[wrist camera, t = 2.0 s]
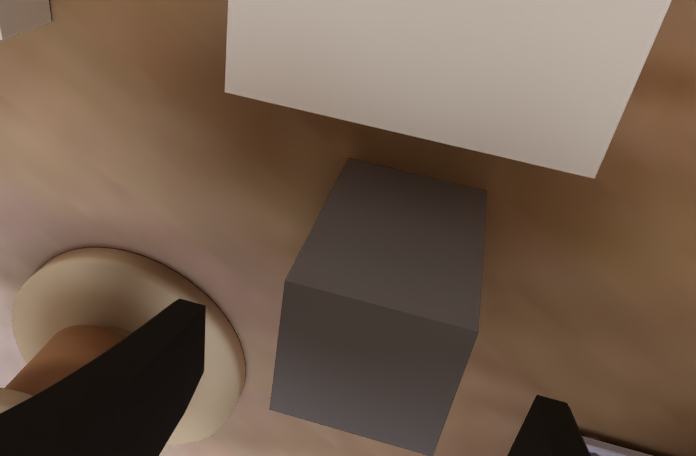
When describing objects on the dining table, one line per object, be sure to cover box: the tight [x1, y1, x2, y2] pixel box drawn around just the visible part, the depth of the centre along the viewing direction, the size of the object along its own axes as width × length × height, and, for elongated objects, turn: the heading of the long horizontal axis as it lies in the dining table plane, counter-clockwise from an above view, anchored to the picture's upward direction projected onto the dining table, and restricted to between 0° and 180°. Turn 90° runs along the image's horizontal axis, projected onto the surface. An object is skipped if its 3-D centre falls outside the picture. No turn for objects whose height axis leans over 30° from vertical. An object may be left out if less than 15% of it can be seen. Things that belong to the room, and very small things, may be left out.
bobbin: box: [0, 248, 246, 445], centre depth 21 cm, size 9×9×6 cm
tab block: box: [270, 158, 487, 456], centre depth 16 cm, size 4×4×6 cm
